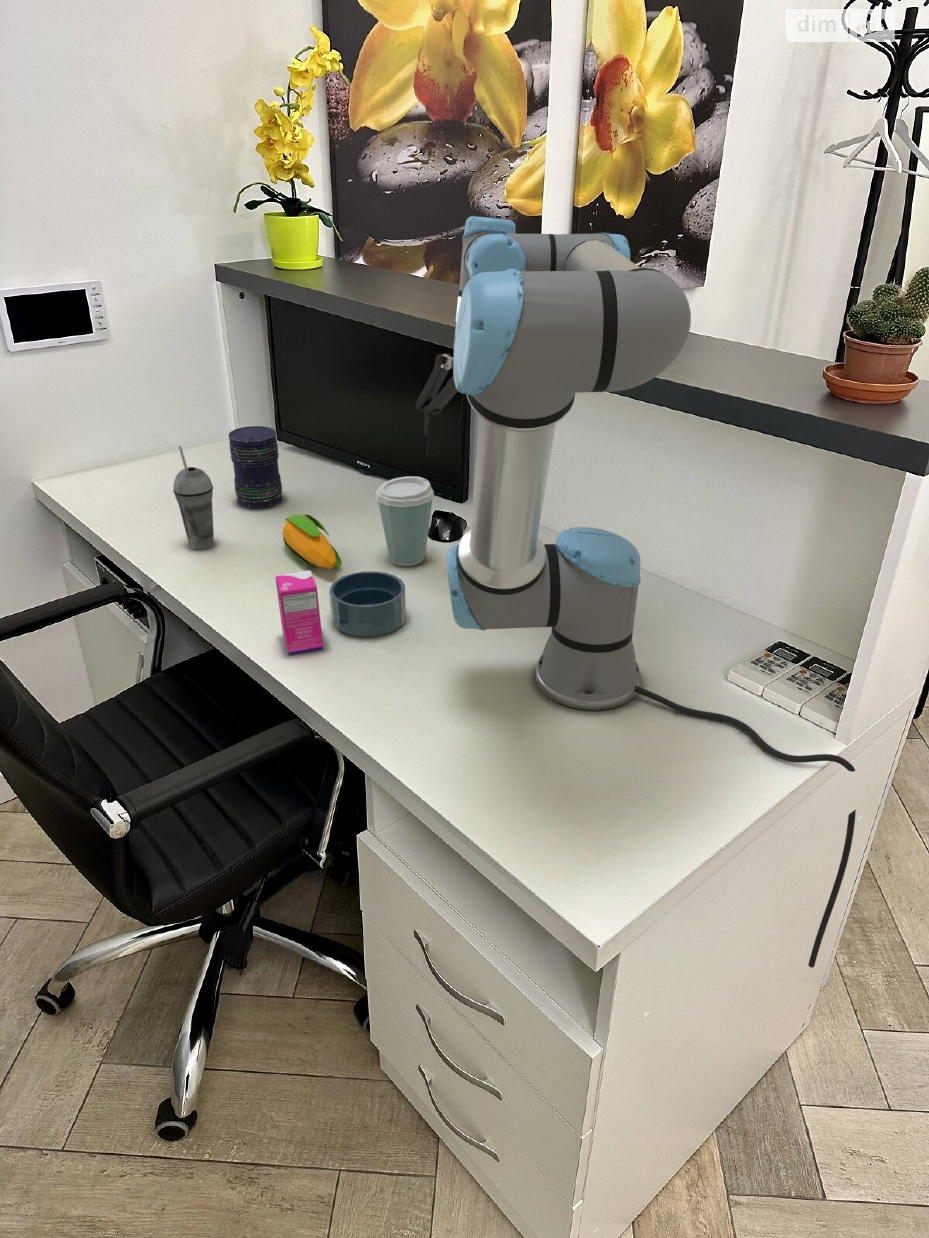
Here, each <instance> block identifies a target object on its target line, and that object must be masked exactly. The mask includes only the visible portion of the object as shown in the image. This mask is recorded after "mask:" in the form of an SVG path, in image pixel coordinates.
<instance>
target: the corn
mask: <svg viewBox="0 0 929 1238" xmlns="http://www.w3.org/2000/svg"><path fill="white" fill-rule="evenodd" d="M319 529H320V530H319ZM321 530H322V531H323V532H324V533H325V534H326V535H327V537H330V535H329V533H328V531H327V529H326V527H325V526H324V525H323V523H322V522H321V521H319V520H318V519H316V518H315V517H313V516H311V514H302V513H299V514H297V513H296V514H292V515H290V516H288V517H287V518H286V519H285V523H284V525H283V527H282V537H283V538H282V540H283V542H284V545H285V546H286V548H288V550H290V552H291V553H292V554H293V555H294V556H296V558H298V559H299V560H300V561H301V562H303V563H304V564H306V565H307V566H309V567H313V565H315V566H316V567H318V568H323V569H327V570H328V569H329V570H332V569H333V568H335V567H339V568H340V567H341V566H342V564H343V563H342V559H341V557H340V555H339V553H338V551H337V550H336V549H335V548H334V547H333V546H332V544H330V542H329V540H328V538H327V537H326V536H325V535H324V534H323V533H322V532H321Z"/></svg>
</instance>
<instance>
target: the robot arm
mask: <svg viewBox="0 0 929 1238" xmlns="http://www.w3.org/2000/svg"><path fill="white" fill-rule="evenodd" d="M516 228H517V227H516V223H515V222H514V221H513V220H510V219H505V218H504V219H503V218H495V217H486V216H477V215H472V216H471V215H470V216H469V217H467V219H466V220H465V225H464V232H463V236H462V238H461V239H462V240H461V242H462V251H461V261H460V262H461V263H460V276H459V288H458V295H457V301H456V302H457V303H456V313H455V329H454V334H453V335H454V336H453V337H454V338H453V345H452V346H453V347H452V348H453V349H452V350H453V356H452V355H451V354H450V353H440V354H437V355H436V357H435V361H434V368H433V370H432V372H431V373H430V376H429V378H428V379H427V382H425V385H424V387H423V389H422V391H421V393H420V395H419V397H418V399H417V400H416V403H415V409H417V410H420V411H421V412H422V413H423V414H424V428H423V432H424V435H426V445H425V446H426V447H425V458H433V457H436V456H439V455H440V447H441V436H442V426H443V424H442V423H443V415H440V414H441V410H443V409H444V407H445V406H446V405H447V404H448V403H449V402H450V401H451V400H452V398H453V397H454V396H455V395H456V394H457V393H458V392H459V393H460V394H465V395H466V399H467V401H468V403H469V405H470V407H471V409H473V411H474V412H475V413H476V415H478V419H477V435H476V437H477V440H476V449H475V450H476V454H475V467H474V482H473V496H472V497H473V499H472V512H471V526H470V527H471V528H469V529H468V530H467V531H466V532H465V533H464V534H463V536H462V538H461V540H460V542H459V544H456V545H453V546H450V547H449V548H448V549H447V552H446V564H447V577H448V586H449V593H450V605H451V610H452V616H453V619H454V622H455V624H456V625H457V626H458V627H460V628H461V629H466V630H468V629H469V630H472V629H473V630H480V631H487V630H504V629H505V630H506V629H530V628H551V632H550V635H549V637H548V639H547V641H546V643H545V645H544V647H543V650H542V653H541V655H540V657H539V659H538V661H537V664H536V673H535V675H536V676H535V679H536V684H537V686H538V688H539V689H540V691H541V692H542V693H543V694H544V695H545V696H546V697H548V698H549V699H550V700H552V701H554V702H556V703H557V704H560V705H563V706H566V707H570V708H573V709H577V710H584V711H604V710H609V709H610V710H611V709H615V708H618V707H620V706H623V705H625V704H628V703H629V702H631V700H632V699H634V698H635V697H636V695H637V694H639V695H641V696H644V697H646V698H649V699H650V700H653V701H655V702H658V703H659V704H662V705H664V706H665V707H668V708H670V709H672V710H675V711H677V712H680V713H683V714H686V715H688V716H693V717H698V718H704V719H710V720H717V721H721V722H725V723H728V724H730V725H733V726H735V727H736V728H737V727H738V728H739V729H741V730H743V732H745V733H746V734H747V735H749V737H751V739H752V740H754V742H756V744H757V745H758V746H759V747H760V748H761V749H762V750H764V751H765V752H766V753H768V754H769V755H771V756H772V757H775V758H777V759H779V760H782V761H785V762H789V763H800V764H801V763H812V762H813V763H815V762H816V763H817V762H832V763H833V762H834V763H836V764H839V765H841V766H842V767H844V768H845V769H846V770H847V771H849V772H852V773H854V772H856V768H855V767H854V765H853V764H852V763H851V762H849V761H848V760H847V759H845V757H844V758H843V757H842V756H840V755H836V754H830V753H820V754H819V753H817V754H807V755H793V754H788V753H784V752H782V751H779V750H777V749H776V748H773V747H772V746H771V745H769V744H768V743H767V742H766V741H765V740H764V739H763V738H762V737H761V736H760V735H759V734H758V732H756V731H755V730H754V729H753V728H752V727H750V725H748V724H747V723H745V722H743V721H741V720H739V719H738V718H734V717H733V716H729V715H726V714H722V713H716V712H712V711H704V710H699V709H694V708H691V707H687V706H683V705H681V704H678V703H676V702H674V701H671V700H670V699H668V698H666V697H664V696H661V695H659V694H657V693H654V692H652V691H651V690H648V689H645V688H644V687H641V686H640V682H641V673H640V666H639V665H638V664H639V663H638V662H637V659H636V652H635V647H634V644H633V633H634V625H635V617H636V610H637V609H636V608H637V601H638V593H639V585H640V584H641V581H642V579H641V555H640V552H639V550H638V549H637V548H636V546H635V545H634V544H633V543H632V542H631V541H629V539H626V538H625V537H623V536H621V535H619V534H617V533H615V532H611V531H609V530H605V529H602V528H598V527H597V528H596V527H589V526H576V527H575V526H574V527H570V528H569V529H564V530H562V531H561V532H560V533H558V536H557V537H556V540H555V543H544V542H543V540H542V538H541V537H540V536H539V530H540V524H541V518H542V512H543V506H544V499H545V494H546V487H547V481H548V474H549V470H550V469H549V468H550V461H551V456H552V449H553V443H554V436H555V431H556V425H557V424H558V423H559V422H561V421H562V420H563V419H564V418H566V417H567V415H568V414H569V413H570V411H571V410H572V407H573V406H574V402H575V397H576V393H577V394H578V393H579V394H580V393H581V394H582V393H604V392H605V393H610V392H611V393H612V392H613V393H614V392H621V391H627V390H631V389H633V388H636V387H638V386H641V385H644V384H646V383H648V382H649V381H651V380H653V379H654V378H656V377H658V376H659V375H660V374H662V373H663V372H664V371H665V370H667V369H668V368H669V367H670V366H671V365H672V364H673V363H674V361H676V359H677V358H678V357H679V355H680V353H681V352H682V350H683V349H684V347H685V345H686V342H687V341H688V337H689V334H690V331H691V330H690V329H691V325H692V312H691V309H690V308H691V307H690V303H689V300H688V298H687V295H686V293H685V292H684V290H683V288H682V287H681V286H680V285H679V284H678V283H677V282H676V281H675V280H674V279H673V278H672V277H670V276H669V275H667V274H666V273H664V272H663V271H661V270H658V269H656V268H652V267H642V266H641V267H639V266H638V265H637V264H635V262H633V261H632V260H631V249H630V246H629V241H628V239H627V237H626V236H624V235H623V234H616V233H607V232H597V233H559V234H558V233H516ZM450 369H452V371H453V375H452V376H451V377H450V379H448V380H447V382H446V385H445V386H444V387H443V388H442V389H441V387H442V384H443V383H444V381H445V379H446V377H447V375H448V373H449V371H450ZM440 389H441V391H440V392H439V390H440ZM438 392H439V393H438ZM856 813H857V809H854V810H853V811H851V812H849V814H848V816H847V825H846V833H845V840H844V843H843V850H842V854H841V858H840V862H839V867H838V870H837V874H836V876H835V880H834V883H833V886H832V889H831V892H830V894H829V898H828V900H827V904H826V907H825V909H824V912H823V915H822V918H821V922H820V924H819V927H818V930H817V933H816V936H815V939H814V943H813V946H812V950H811V953H810V956H809V960H808V963H807V965H808V967H809V968H811V969H813V968H815V966H816V965H815V964H816V961H817V958H818V954H819V951H820V947H821V945H822V942H823V938H824V935H825V933H826V929H827V926H828V923H829V921H830V918H831V916H832V912H833V909H834V907H835V904H836V901H837V898H838V895H839V892H840V889H841V886H842V883H843V879H844V877H845V872H846V870H847V865H848V862H849V857H850V854H851V849H852V844H853V839H854V832H855V824H856Z"/></svg>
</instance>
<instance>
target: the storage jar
mask: <svg viewBox="0 0 929 1238" xmlns="http://www.w3.org/2000/svg"><path fill="white" fill-rule="evenodd" d="M228 440H229V443H228V444H229V453H230V459H231V462H232V467H233V472H234V478H233V482H234V492H235V496H236V498H237V499H236V503H237V505H238V506H239V507H240V508H241V509H242V508H243V509H246V510H251V511H257V510H268V509H271V508H275V507H278V506H279V505H281V504H282V502H283V501H284V500H283V499H284V498H283V495H282V494H283V483H282V477H281V474H280V470H279V468H280V467H279V460H278V459H279V444H278V438H277V431H276V430H275V429H273V428H272V427H268V426H261V425H252V426H251V425H249V426H243V427H238V428H236V429H233V430H231V431H230V432H229V433H228Z"/></svg>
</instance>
